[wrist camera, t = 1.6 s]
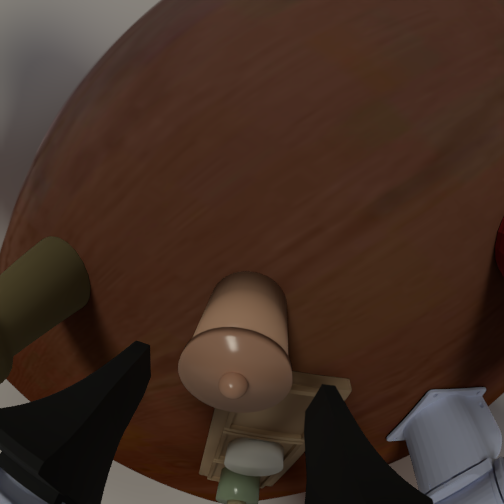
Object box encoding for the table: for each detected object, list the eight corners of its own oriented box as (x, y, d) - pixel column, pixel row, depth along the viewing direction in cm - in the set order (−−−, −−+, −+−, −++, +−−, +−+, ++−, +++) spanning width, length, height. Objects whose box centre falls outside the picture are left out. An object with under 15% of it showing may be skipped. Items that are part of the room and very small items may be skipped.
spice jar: (299, 280, 15) (310, 367, 9) (277, 344, 17) (273, 434, 11) (215, 259, 15) (174, 336, 9) (203, 327, 17) (171, 411, 11)
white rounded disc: (291, 441, 20) (291, 459, 18) (274, 462, 22) (273, 478, 20) (232, 432, 20) (229, 450, 18) (223, 454, 22) (220, 470, 20)
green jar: (265, 469, 22) (261, 509, 17) (255, 481, 24) (251, 516, 19) (224, 463, 22) (216, 503, 18) (219, 475, 24) (211, 510, 19)
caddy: (349, 379, 18) (352, 395, 16) (272, 478, 26) (271, 489, 24) (227, 357, 18) (222, 375, 16) (200, 466, 26) (198, 477, 24)
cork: (72, 321, 18) (-7, 411, 8) (28, 267, 17) (-63, 335, 7) (103, 283, 17) (-3, 392, 6) (51, 219, 15) (-72, 288, 5)
